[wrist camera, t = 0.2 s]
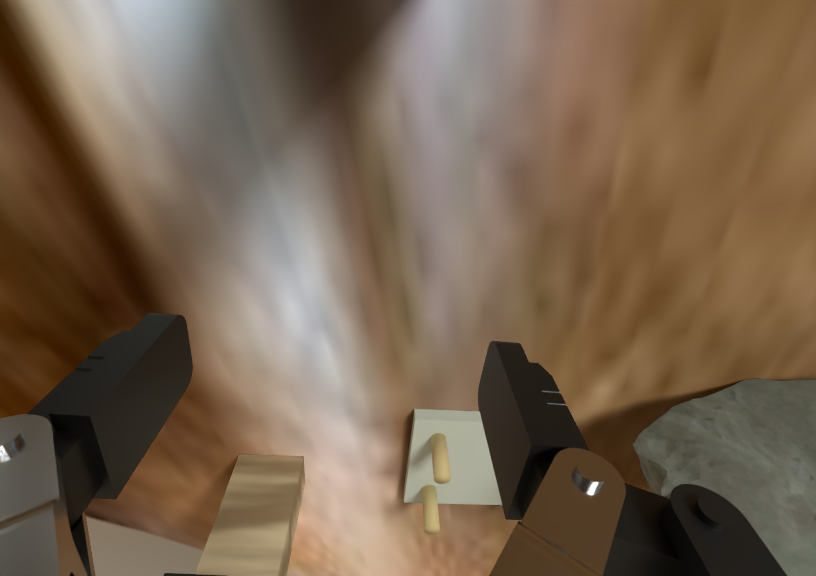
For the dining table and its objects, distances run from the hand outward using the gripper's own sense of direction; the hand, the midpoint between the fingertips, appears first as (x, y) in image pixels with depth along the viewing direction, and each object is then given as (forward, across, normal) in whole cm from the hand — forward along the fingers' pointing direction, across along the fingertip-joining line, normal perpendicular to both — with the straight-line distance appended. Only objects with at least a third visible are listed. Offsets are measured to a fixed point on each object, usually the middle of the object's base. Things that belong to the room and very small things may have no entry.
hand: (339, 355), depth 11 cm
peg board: (+19, -12, +25) cm, 34 cm away
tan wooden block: (+20, +8, +29) cm, 36 cm away
